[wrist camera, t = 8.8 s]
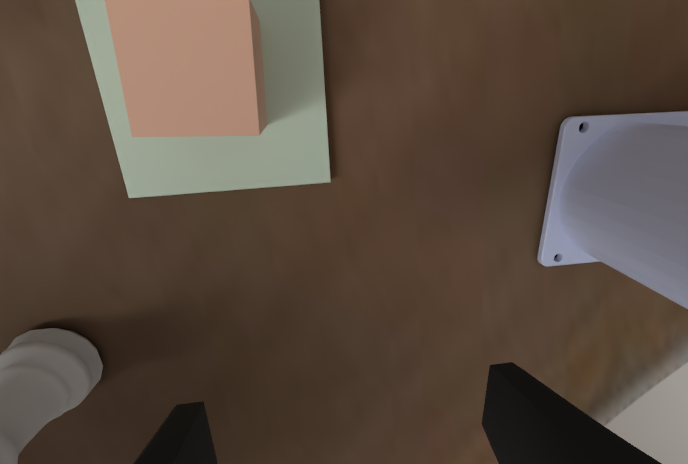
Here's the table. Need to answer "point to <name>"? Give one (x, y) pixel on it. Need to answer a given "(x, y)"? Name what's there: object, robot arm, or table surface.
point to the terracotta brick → (189, 66)
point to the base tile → (229, 151)
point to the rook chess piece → (42, 383)
